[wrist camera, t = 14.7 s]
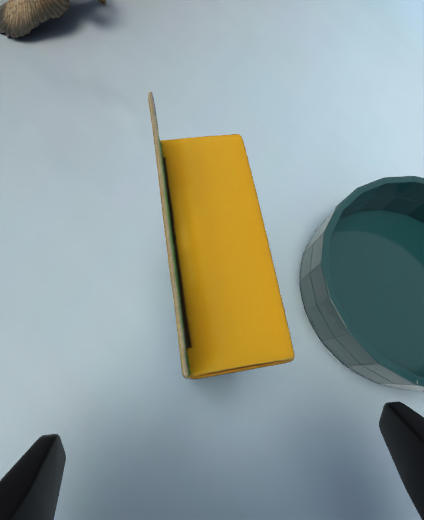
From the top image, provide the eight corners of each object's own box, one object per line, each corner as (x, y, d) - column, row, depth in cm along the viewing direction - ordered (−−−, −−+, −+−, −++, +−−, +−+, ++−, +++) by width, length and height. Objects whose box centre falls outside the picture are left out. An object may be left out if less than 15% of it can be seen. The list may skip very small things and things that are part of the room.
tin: (500, 260, 20) (560, 237, 17) (456, 431, 17) (522, 445, 13) (340, 179, 22) (367, 144, 18) (268, 321, 18) (284, 309, 15)
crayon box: (241, 370, 17) (331, 361, 6) (186, 379, 17) (175, 388, 6) (219, 245, 19) (254, 80, 8) (171, 251, 19) (142, 87, 8)
